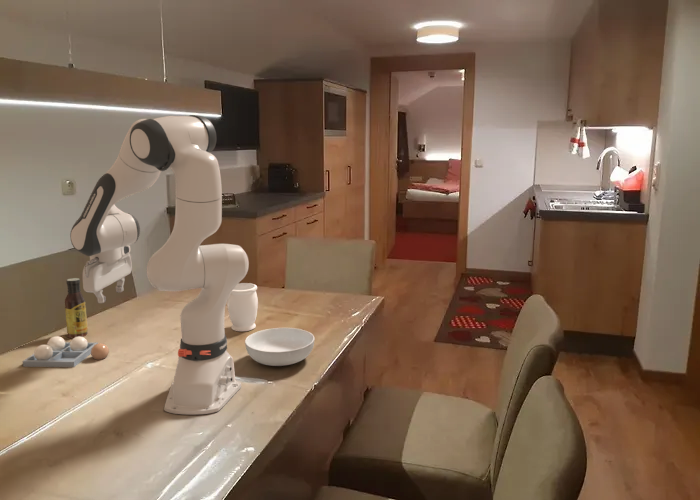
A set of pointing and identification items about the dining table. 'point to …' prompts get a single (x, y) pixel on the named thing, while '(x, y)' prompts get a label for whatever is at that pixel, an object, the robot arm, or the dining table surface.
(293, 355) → the serving bowl
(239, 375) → the dining table surface
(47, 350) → the white egg
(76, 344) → the white egg
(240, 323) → the jar
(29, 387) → the dining table surface
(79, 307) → the sauce bottle
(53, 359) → the egg tray
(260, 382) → the dining table surface
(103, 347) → the brown egg
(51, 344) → the white egg
